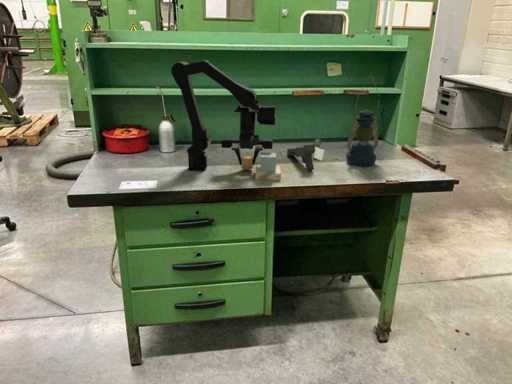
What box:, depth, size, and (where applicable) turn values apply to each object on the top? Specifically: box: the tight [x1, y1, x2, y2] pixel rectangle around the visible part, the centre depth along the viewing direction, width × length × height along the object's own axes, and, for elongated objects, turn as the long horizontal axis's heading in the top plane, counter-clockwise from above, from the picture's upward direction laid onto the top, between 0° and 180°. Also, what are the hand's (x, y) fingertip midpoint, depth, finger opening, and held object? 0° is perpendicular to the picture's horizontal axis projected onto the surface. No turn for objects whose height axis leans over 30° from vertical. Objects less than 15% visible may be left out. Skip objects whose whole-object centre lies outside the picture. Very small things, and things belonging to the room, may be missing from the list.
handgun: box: [286, 144, 315, 172], centre depth 170 cm, size 4×24×10 cm, turn 15°
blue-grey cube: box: [259, 152, 277, 172], centre depth 153 cm, size 6×6×6 cm
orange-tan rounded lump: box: [240, 155, 254, 170], centre depth 159 cm, size 4×4×4 cm
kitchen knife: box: [313, 138, 325, 161], centre depth 187 cm, size 29×3×5 cm
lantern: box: [345, 74, 380, 168], centre depth 166 cm, size 14×12×35 cm
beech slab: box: [254, 164, 282, 181], centre depth 154 cm, size 9×9×2 cm
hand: (247, 165), depth 160 cm, fingers closed on orange-tan rounded lump, 4 cm apart
